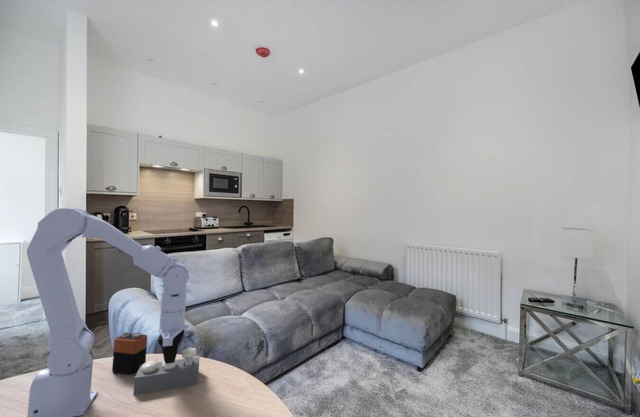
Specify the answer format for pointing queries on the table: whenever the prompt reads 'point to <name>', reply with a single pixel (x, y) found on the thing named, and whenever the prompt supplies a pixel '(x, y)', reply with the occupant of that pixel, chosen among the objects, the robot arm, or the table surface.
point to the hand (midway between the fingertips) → (170, 362)
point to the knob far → (189, 356)
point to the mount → (167, 377)
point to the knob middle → (169, 365)
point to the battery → (129, 353)
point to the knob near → (149, 366)
